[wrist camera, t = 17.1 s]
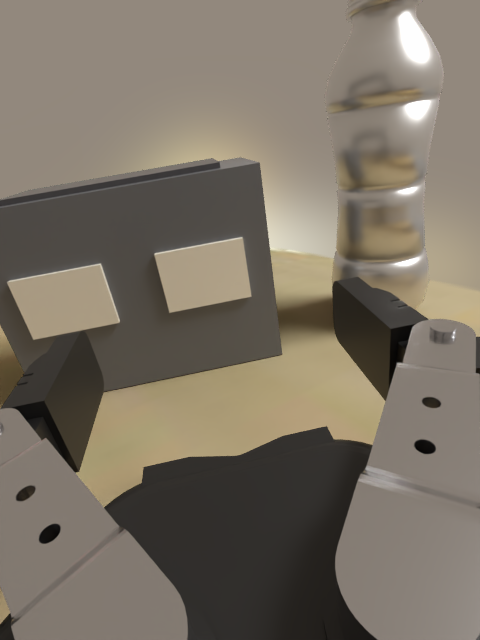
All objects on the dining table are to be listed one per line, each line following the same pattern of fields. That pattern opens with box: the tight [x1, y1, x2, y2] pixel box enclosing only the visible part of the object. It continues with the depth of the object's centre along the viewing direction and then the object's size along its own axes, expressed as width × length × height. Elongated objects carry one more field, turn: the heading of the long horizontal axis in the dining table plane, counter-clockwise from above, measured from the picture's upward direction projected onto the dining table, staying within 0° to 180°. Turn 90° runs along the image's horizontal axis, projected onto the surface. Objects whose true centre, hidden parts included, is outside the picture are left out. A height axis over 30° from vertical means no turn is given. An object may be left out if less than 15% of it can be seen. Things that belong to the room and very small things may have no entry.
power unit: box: [0, 158, 282, 392], centre depth 25 cm, size 7×16×12 cm, turn 98°
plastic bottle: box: [325, 0, 444, 310], centre depth 24 cm, size 6×7×20 cm
